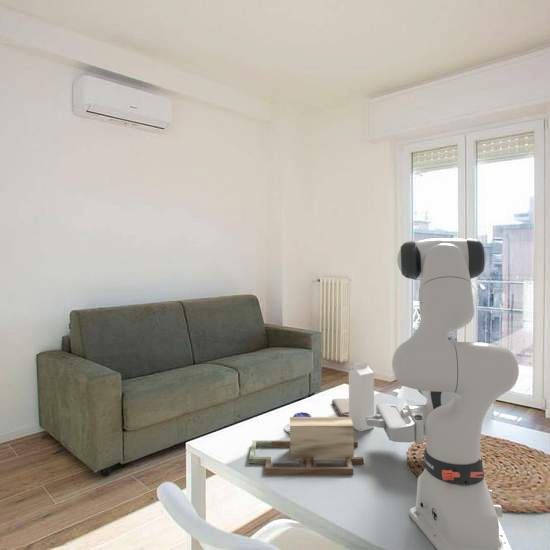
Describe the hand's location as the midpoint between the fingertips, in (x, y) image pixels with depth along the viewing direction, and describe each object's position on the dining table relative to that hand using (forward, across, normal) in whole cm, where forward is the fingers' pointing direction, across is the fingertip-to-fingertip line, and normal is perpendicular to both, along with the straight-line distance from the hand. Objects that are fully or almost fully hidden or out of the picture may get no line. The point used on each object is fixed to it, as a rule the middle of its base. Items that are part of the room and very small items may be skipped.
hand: (366, 420), depth 132 cm
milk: (-2, -20, +10) cm, 23 cm away
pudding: (+18, -18, +11) cm, 28 cm away
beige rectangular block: (+13, +1, +10) cm, 17 cm away
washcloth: (-1, -37, +11) cm, 39 cm away
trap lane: (+18, +4, +10) cm, 21 cm away
